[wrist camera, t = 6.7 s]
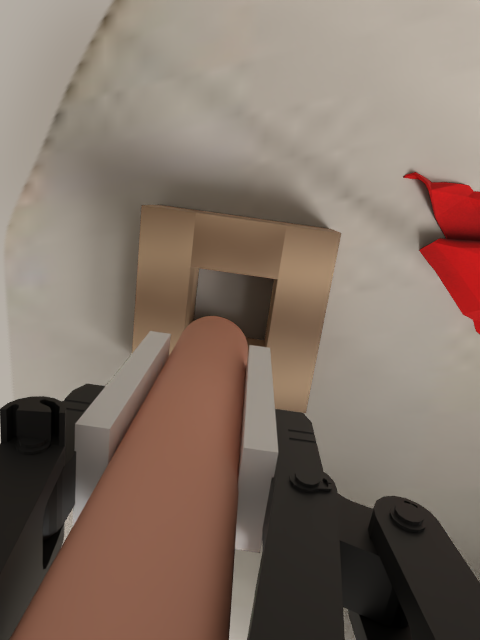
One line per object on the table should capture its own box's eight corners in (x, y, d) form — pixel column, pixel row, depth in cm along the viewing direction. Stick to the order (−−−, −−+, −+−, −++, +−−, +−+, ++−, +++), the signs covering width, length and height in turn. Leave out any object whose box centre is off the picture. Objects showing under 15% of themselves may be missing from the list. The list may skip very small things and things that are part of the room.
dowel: (242, 385, 18) (201, 899, 5) (175, 376, 18) (-50, 863, 5) (252, 321, 17) (234, 726, 4) (181, 311, 18) (-71, 684, 4)
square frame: (299, 385, 30) (305, 413, 26) (146, 363, 30) (129, 387, 26) (329, 228, 27) (341, 233, 23) (158, 204, 27) (141, 205, 23)
